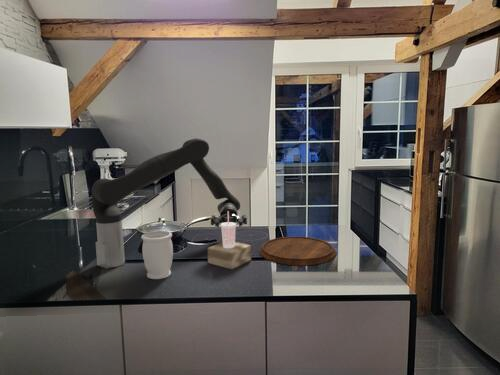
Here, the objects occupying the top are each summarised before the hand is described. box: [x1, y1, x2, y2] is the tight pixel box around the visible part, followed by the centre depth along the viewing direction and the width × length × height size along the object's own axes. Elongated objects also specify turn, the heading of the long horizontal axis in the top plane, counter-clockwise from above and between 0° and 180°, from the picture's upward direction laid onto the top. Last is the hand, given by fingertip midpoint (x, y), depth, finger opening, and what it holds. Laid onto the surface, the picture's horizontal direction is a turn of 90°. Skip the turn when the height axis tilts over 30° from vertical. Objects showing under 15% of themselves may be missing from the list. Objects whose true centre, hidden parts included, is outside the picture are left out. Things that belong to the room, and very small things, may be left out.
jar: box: [141, 230, 174, 280], centre depth 132 cm, size 11×10×15 cm
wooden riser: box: [207, 241, 252, 270], centre depth 145 cm, size 12×12×6 cm
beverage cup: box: [219, 211, 237, 248], centre depth 144 cm, size 6×6×14 cm
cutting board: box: [258, 236, 337, 266], centre depth 156 cm, size 32×32×3 cm
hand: (228, 224), depth 143 cm, fingers open, 8 cm apart
